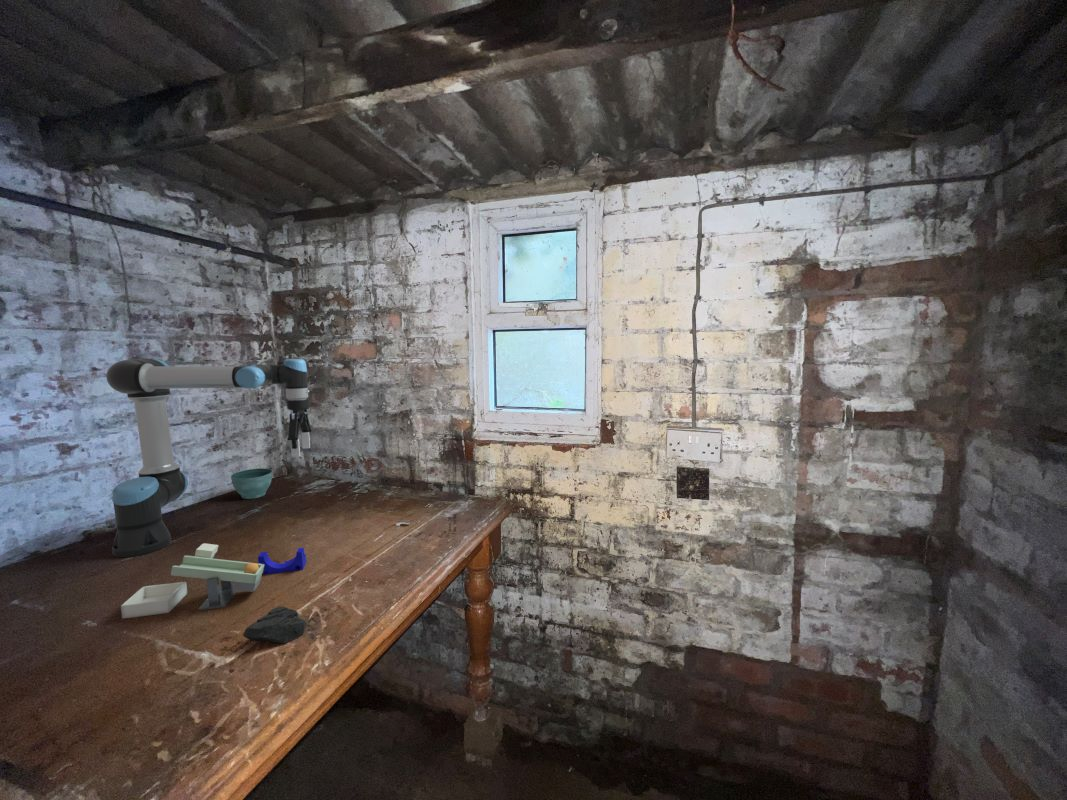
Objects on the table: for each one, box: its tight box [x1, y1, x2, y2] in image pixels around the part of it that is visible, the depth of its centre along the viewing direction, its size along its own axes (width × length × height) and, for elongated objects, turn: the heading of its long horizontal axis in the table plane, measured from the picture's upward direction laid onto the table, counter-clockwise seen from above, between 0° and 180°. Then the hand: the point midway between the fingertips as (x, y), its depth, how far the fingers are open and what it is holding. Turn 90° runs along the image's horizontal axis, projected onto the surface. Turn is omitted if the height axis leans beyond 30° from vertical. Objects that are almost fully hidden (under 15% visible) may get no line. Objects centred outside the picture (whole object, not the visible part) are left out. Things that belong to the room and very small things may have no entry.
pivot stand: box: [198, 577, 238, 611], centre depth 119 cm, size 6×11×8 cm, turn 14°
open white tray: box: [120, 581, 188, 620], centre depth 116 cm, size 10×9×4 cm
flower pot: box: [230, 467, 273, 500], centre depth 199 cm, size 16×16×11 cm
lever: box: [170, 542, 265, 593], centre depth 123 cm, size 20×14×5 cm
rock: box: [242, 606, 307, 644], centre depth 103 cm, size 10×6×10 cm
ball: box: [244, 562, 259, 574], centre depth 121 cm, size 4×4×4 cm
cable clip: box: [257, 547, 307, 575], centre depth 135 cm, size 12×4×6 cm, turn 105°
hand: (301, 452), depth 169 cm, fingers open, 13 cm apart
